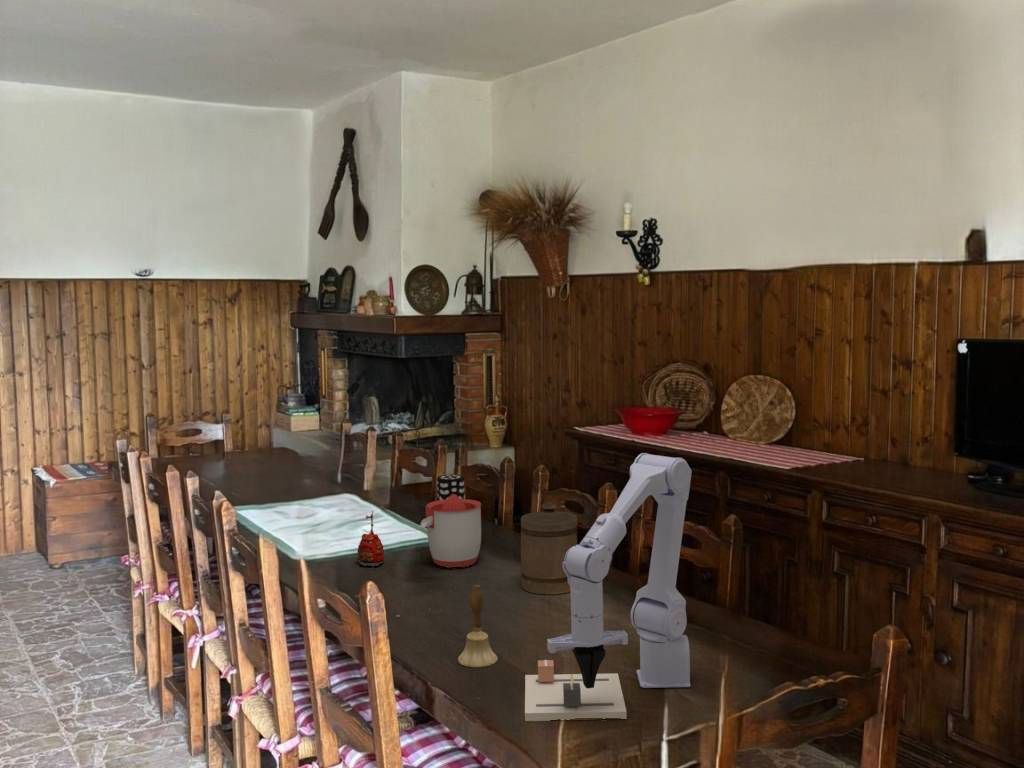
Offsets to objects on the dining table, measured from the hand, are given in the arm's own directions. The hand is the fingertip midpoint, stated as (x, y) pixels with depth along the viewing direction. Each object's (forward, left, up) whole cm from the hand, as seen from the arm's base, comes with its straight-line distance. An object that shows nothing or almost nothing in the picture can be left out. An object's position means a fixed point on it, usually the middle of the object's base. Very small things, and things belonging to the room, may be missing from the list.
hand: (588, 686), depth 173 cm
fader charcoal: (+3, 0, -3) cm, 4 cm away
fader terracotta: (+8, -11, -3) cm, 14 cm away
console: (+3, -5, -5) cm, 8 cm away
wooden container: (+6, -75, -5) cm, 75 cm away
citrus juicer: (+33, -97, -5) cm, 102 cm away
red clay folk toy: (+56, -98, -5) cm, 113 cm away
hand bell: (+22, -26, -5) cm, 34 cm away
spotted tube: (+35, -122, -5) cm, 127 cm away
